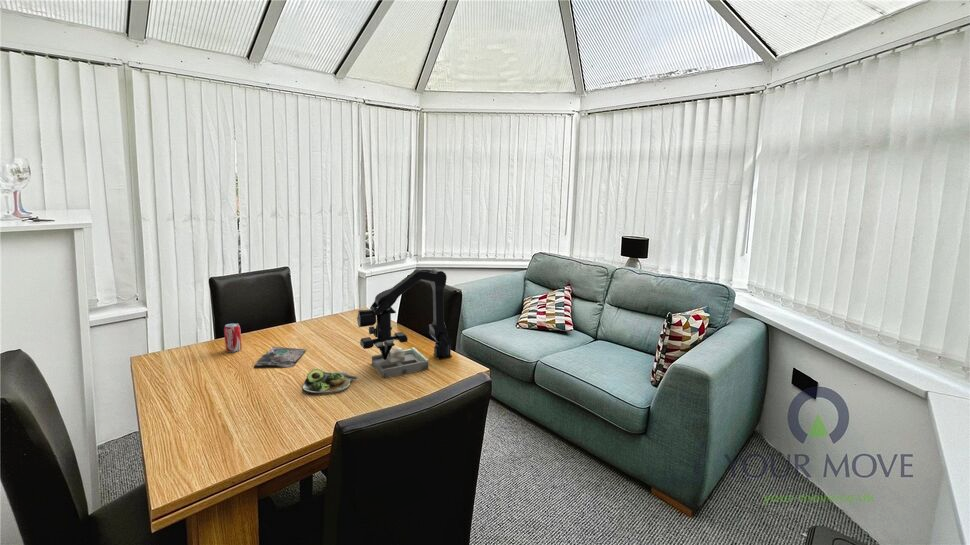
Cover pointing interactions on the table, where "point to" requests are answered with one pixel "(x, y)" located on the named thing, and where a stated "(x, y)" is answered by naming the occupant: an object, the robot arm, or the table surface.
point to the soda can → (232, 337)
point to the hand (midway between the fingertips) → (384, 359)
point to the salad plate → (326, 382)
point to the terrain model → (280, 358)
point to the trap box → (400, 364)
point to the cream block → (396, 354)
